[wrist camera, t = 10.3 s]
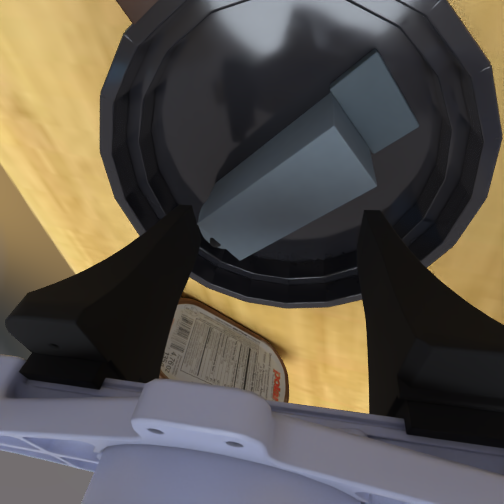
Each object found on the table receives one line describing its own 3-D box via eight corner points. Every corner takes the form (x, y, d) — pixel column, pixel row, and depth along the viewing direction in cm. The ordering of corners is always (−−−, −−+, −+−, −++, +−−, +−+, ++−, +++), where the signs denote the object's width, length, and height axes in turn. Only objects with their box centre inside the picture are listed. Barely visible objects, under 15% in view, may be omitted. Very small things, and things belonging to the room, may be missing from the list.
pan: (495, 218, 18) (523, 263, 15) (246, 291, 26) (237, 328, 24) (405, -225, 9) (436, -290, 6) (68, 104, 17) (25, 131, 15)
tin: (151, 292, 28) (105, 384, 22) (166, 276, 26) (121, 373, 21) (277, 360, 34) (267, 450, 28) (297, 351, 32) (291, 447, 26)
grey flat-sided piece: (375, 46, 13) (388, 75, 10) (417, 120, 14) (438, 161, 12) (194, 193, 19) (173, 234, 17) (236, 232, 21) (224, 274, 18)
